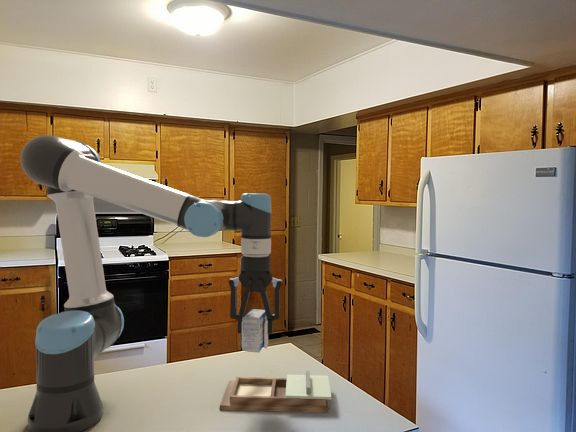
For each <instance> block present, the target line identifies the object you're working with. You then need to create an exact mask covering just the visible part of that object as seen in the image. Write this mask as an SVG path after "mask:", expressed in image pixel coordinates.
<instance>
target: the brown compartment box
mask: <svg viewBox="0 0 576 432" xmlns="http://www.w3.org/2000/svg"><path fill="white" fill-rule="evenodd" d="M235 378H236V379H235V380H228V382H227V385H226V387H225V390H224V393H223V396H222V398H221V401H220V404H219V410H224V411H225V410H229V411H256V412H257V411H259V412H260V411H262V412H287V413H288V412H291V413H292V412H293V413H294V412H295V413H323V414H324V413H325V414H328V413H329V404H328V403H329V402H328V399H302V398H285V396H286V382H287V377H285V378H284V377H250V376H249V377H248V376H236V377H235Z"/></svg>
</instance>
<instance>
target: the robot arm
mask: <svg viewBox="0 0 576 432" xmlns="http://www.w3.org/2000/svg"><path fill="white" fill-rule="evenodd" d="M19 161H20V166H21V168H22V170H23V171H22V172H24V174H25V175H26V177H28V178H29V179H30V180H31V181H32V182H34V183H36V184H38V185H41V186H45V189H46V196H47V198H49V199H50V200H52V201H53V202H54V203H55V208H56V216H57V221H58V222H57V223H58V228H59V229H58V230H59V234H60V242H61V248H62V256H63V262H64V269H65V274H66V276H65V277H66V281H67V287H68V294H69V295H68V296H69V297H68V299H67V301H65V303H64V304H63V309H64V311H61V312H59V313H54V314H51V315H49V316H47V317H45V318H43V320H41V321H40V322H39V324H38V325H37V327H36V331H35V333H36V334H35V339H34V346H35V367H36V368H35V369H36V370H35V377H36V392H35V395H34V397H33V401H32V404H31V407H30V409H29V413H28V415H27V430H28V431H29V432H84V431H85V430H88V429H90V428H92V427H93V426H94V425H95V424H97V423H98V422H99V421H100V420H101V419H102V417H103V414H104V412H103V409H104V407H103V405H104V404H103V401H102V399H101V396H100V392H99V391H98V388H97V386H96V382H95V359H96V358H97V357H98V356H99V355H100V354H101V353H103V352H104V351H105V350H107V349H109V348H110V347H111V346H113V345H114V344H115V342H117V339H119V338H120V336H121V334H122V332H123V330H124V327H125V326H124V325H125V318H124V314H123V312H122V310H121V308H120V307H119V306H117V305H116V303H115V298H114V297H115V296H114V294H112V293H111V292H109V291H108V290H107V287H106V280H105V273H104V272H105V271H104V267H103V260H102V259H103V258H102V252H101V245H100V239H99V232H98V227H97V219H96V218H97V217H96V212H95V204H94V198H96V199H99V200H102V201H104V202H108V203H111V204H114V205H116V206H119V207H122V208H125V209H128V210H130V211H133V212H136V213H140V214H143V215H145V216H148V217H151V218H154V219H155V220H159V221H163V222H166V223H168V224H170V225H174V226H177V227H179V228H181V229H184V230H186V231H189V233H190V234H192V235H193V236H196V237H199V238H200V237H201V238H209V237H211V236H214V235H216V234H217V233H218V232H220V231H221V232H226V231H229V232H231V231H232V232H238V231H240V233H241V234H240V253H241V254H242V255H241V257H240V273H239V275H238V277H237V276H236V277H234V278H233V277H230V278H229V280H228V284H229V288H230V309H229V317H230V319H233V320H236V321H237V328H236V329H237V334H241V335H242V323H243V317H244V316H245V311H246V308H247V305H248V301H249V297H250V294H251V293H260V297H261V299H262V303H263V307H264V308H263V310H265V313H266V317H267V320H266V319H265V322H264V346H263V348H264V349H268V346H269V335H272V333H273V329H274V328H273V322H274V321H276V320H279V319H280V315H281V313H280V312H281V307H280V305H281V286H282V284H283V279H281V278H279V279H278V278H276V277H273V274H272V272H271V270H272V268H271V267H272V266H271V264H272V257H271V256H270V254H271V253H272V216H273V215H272V214H273V210H272V197H271V195H269V194H268V193H258V192H257V193H251V192H249V193H248V192H245V193H244V192H243V193H242V194H241V198H240V200H215V199H212V200H210V199H203V198H201V197H198V196H195V195H191V194H189V193H187V192H183V191H181V190H178V189H174V188H172V187H169V186H166V185H163V184H160V183H158V182H155V181H152V180H149V179H147V178H143V177H142V176H138V175H135V174H132V173H130V172H127V171H124V170H121V169H118V168H115V167H113V166H110V165H107V164H104V163H102V160H101V158H100V156H99V154H98V153H97V151H96V150H94V149H93V148H92V147H91V146H89V145H88V144H86V143H84V142H83V141H82V142H81V141H79V140H74V139H67V138H64V137H59V136H57V135H56V136H55V135H51V134H50V135H48V134H47V135H46V134H45V135H40V136H35V137H34V138H32V139H30V140H29V141H28V142H27V143H26V144H25V145H24V146H23V147H22V150H21V153H20V159H19ZM239 282H240V283H241V285H242V286H243V288H244V292H243V297H242V300H241V304H240V308H239V312H237V305H238V304H237V303H238V302H237V300H238V299H237V298H238V286H239ZM271 283H272V287H273V288H274V313H272V307H271V304H270V300H269V296H268V292H267V291H268V290H267V287H269V285H270V284H271Z"/></svg>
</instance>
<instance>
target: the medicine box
mask: <svg viewBox="0 0 576 432" xmlns="http://www.w3.org/2000/svg"><path fill="white" fill-rule="evenodd" d="M265 319H266V320H267V317H266V313H265V309H255V308H254V309H251V310H250V311H249V312H247V313H246V314H244V317H243V323H242V334H241V349H242V352H246V353H247V352H249V353H250V352H251V353H260V352H261V350H262V349H263V348H264V322H265Z"/></svg>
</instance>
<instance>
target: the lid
mask: <svg viewBox="0 0 576 432" xmlns="http://www.w3.org/2000/svg"><path fill="white" fill-rule="evenodd" d="M286 378H287V382H286V396H285V398H302V399H327V400H332V392H331V386H330V385H331V384H330V380H329V379H330V378H329V375H322V374H321V375H318V374H315V375H313V374H311V373H310V370H306V371H305V374H288V373H287V374H286Z"/></svg>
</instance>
